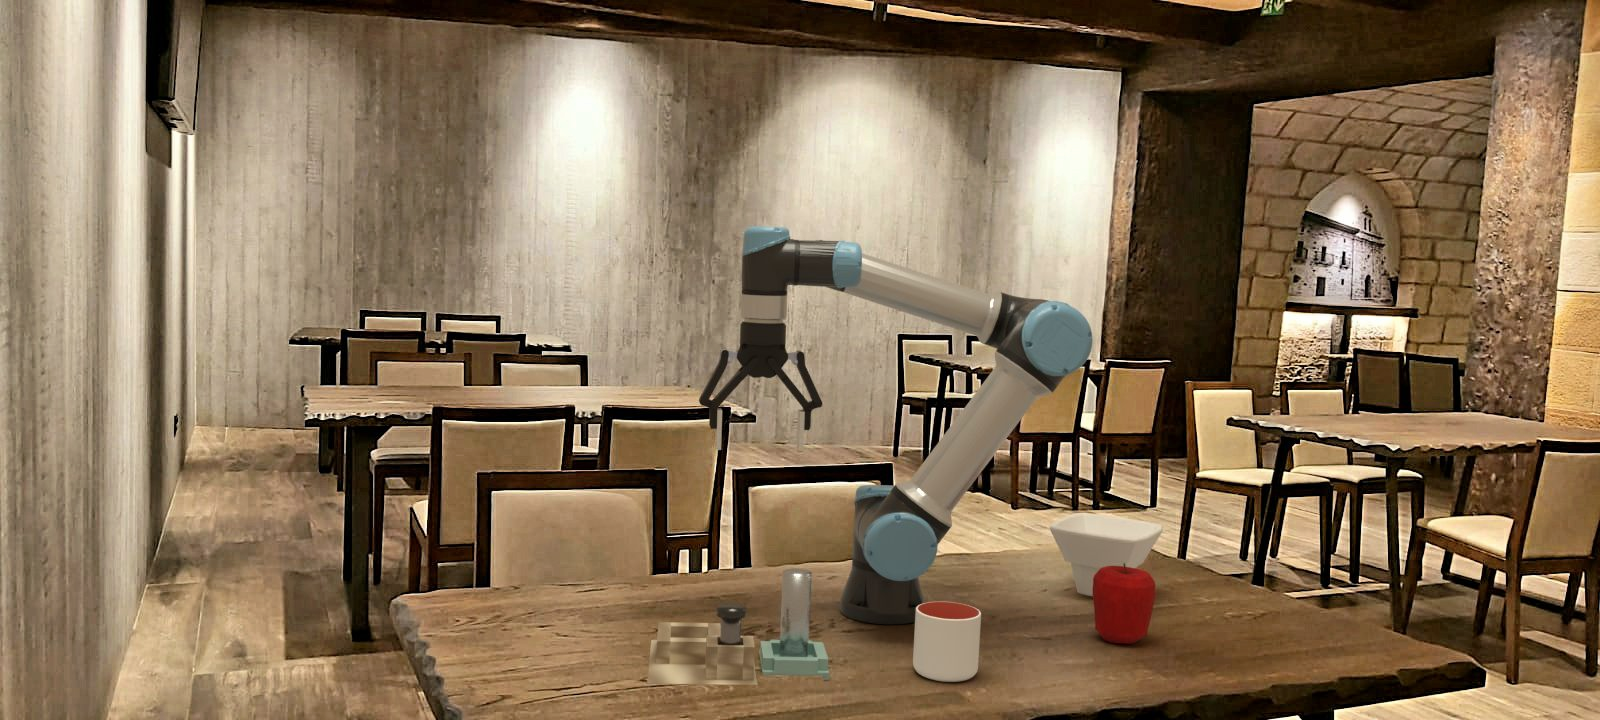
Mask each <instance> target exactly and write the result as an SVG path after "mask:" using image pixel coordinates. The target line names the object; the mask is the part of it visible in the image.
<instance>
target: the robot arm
mask: <svg viewBox="0 0 1600 720" xmlns="http://www.w3.org/2000/svg"><path fill="white" fill-rule="evenodd" d="M742 243H743V244H742V257H741V258H742V259H741V298H740V299H741V301H740V302H741V303H740V317H741V318H742V319H743V320H744V321H741V323H740V324H739V326H740V328H739V329H740V330H739V347H738V350H737V351H733V350H728V349H727V348H722V349H720V353H719V357H718V358H719V360H718V363H717V365H716V366H715V369H714V370H713V372H712V374H711V376H710V378H709V380H708V382H707V383H706V385H705V387H704V389H703V391H702V393H701V394H700V396H699V399H698V401H699V404H700V406H702V407H706V408H708V409H709V417H708V418H709V421H708V425H709V427H710V429H711V430H715V441H714V442H715V445H714V446H715V449H716V451H721V450H722V430H723V428H722V427H723V410H722V408H721V407H720V406H721V404H723V402H724V401H726V399H727V398H728V397H729V396H730V395H731V394H732V393H733V391H734V390H735V389H737V387H738V386H739V385H740V384H741V382H742V381H744V380H745V379H746V377H747V376H749V377H752V378H754V379H755V378H756V379H758V378H766V379H772V378H774V377H776V376H777V377H778V379H779V380H780V381H781V382H782V383H783V385H784V386H785V388H787V390H788V391H789V392H790V394H791V395H792V396H793V397H794V399H796V401H797V402H798V404H799V405H800V406H801V407H802V409H797V427H796V428H797V431H796V433H797V434H796V449H797V451H799V452H804V446H805V445H804V442H805V441H804V440H805V431H810V429H811V426H812V425H811V424H812V412H813V410H816V409H818V408H821V407H823V401H822V398H821V396H820V395H819V392H818V390H817V388H816V386H815V384H814V382H813V379H812V377H811V374H810V372H809V371H808V369H807V366H806V359H805V353H804V352H803V351H802V350H796V351H792V352H787V349H786V348H787V347H786V343H787V342H786V341H787V340H786V339H787V324H786V322H784V321H785V320H787V311H788V310H787V308H788V286H794V287H795V286H796V287H797V286H804V287H805V286H806V287H821V288H822V287H824V288H826V289H827V288H829V289H830V290H834V291H837V292H840V293H844V294H846V295H847V294H848V295H850V296H853V297H857V298H858V299H863V300H866V301H868V302H872V303H875V304H878V305H881V306H885V307H887V308H891V309H893V310H896V311H900V312H902V313H906V314H909V315H911V316H915V317H918V318H921V319H923V320H924V319H925V320H927V321H931V322H934V323H937V324H940V325H942V326H946V327H949V328H951V329H955V330H958V331H961V332H964V333H967V334H969V335H970V334H971V335H973V336H976V337H977V338H978V341H979V342H980V343H981V344H983V345H985V346H988V347H992V348H994V349H996V350H995V351H994V359H995V361H994V362H995V367H994V368H993V370H992V371H991V372H990V373H989V375H988V376H987V377H986V379H985V380H984V381H983V383H982V384H981V385H980V386H979V388H978V389H977V391H976V392H975V393H974V395H973V396H972V397H971V399H970V400H969V402H968V403H967V404H966V405H965V407H964V408H963V409H962V410H961V412H960V414H959V415H958V416H957V418H955V420H954V421H953V423H952V424H951V426H950V427H949V428H948V429H947V430H946V432H945V433H944V435H942V437H941V439H940V440H939V441H938V442H937V444H936V445H935V446H934V447H933V449H932V451H931V452H930V453H929V454H928V456H927V457H926V459H925V460H924V462H922V464H921V465H920V467H919V468H918V469H917V471H916V472H915V473H914V474H913V476H912V477H911V478H910V479H909V480H907V481H902V482H901V481H900V482H896V483H895V484H894V485H887V484H885V485H883V484H865V485H859V486H858V487H857V488H856V491H855V497H854V498H855V499H854V500H853V505H854V519H853V520H854V522H853V538H852V539H853V541H852V556H851V557H852V559H851V560H852V561H851V569H850V572H849V575H848V578H847V581H846V583H845V585H844V589H843V591H842V593H841V597H840V601H839V602H840V605H839V607H840V608H839V611H840V612H841V614H842V615H843V616H845V617H847V618H849V619H852V620H855V621H859V622H863V623H869V624H876V625H905V624H910V623H911V624H912V623H915V614H916V607H917V606H918V605H920V604H923V603H926V602H925V601H926V600H925V598H924V595H923V590H922V586H921V582H920V580H919V577H920V576H923V575H924V574H926V572H927V571H928V570H929V569H930V568H931V567H932V565H933V563H934V561H935V559H936V557H937V553H938V547H939V546H938V545H939V544H940V543H941V541H942V540H943V538H944V537H945V536H946V535H947V533H948V532H949V531H950V529H952V527H953V521H952V520H953V519H952V511H953V510H954V509H955V507H956V506H957V505H958V504H959V502H960V501H961V500H962V498H963V497H964V495H965V494H966V493H967V492H968V490H969V489H970V488H971V486H972V485H973V483H974V482H975V481H976V480H977V478H978V476H979V475H980V474H982V471H984V469H985V468H986V466H987V465H988V464H989V462H990V461H991V460H992V459H993V457H994V456H995V455H996V453H997V452H998V450H999V449H1000V448H1001V446H1002V445H1003V444H1004V443H1005V441H1006V440H1007V438H1008V437H1009V436H1010V434H1011V433H1012V432H1013V430H1014V429H1015V428H1016V427H1017V425H1019V422H1020V421H1021V420H1022V419H1023V418H1024V416H1025V415H1026V413H1027V412H1028V411H1029V409H1030V408H1031V407H1032V405H1033V404H1034V403H1035V402H1036V400H1037V399H1038V398H1040V397H1045V396H1051V395H1052V394H1053V393H1054V392H1055V390H1056V389H1057V388H1058V386H1059V385H1060V383H1062V382H1063V380H1064V379H1065V378H1066V376H1068V375H1071V374H1073V373H1074V372H1076V371H1078V370H1079V369H1081V368H1082V366H1084V364H1085V363H1086V362H1087V360H1088V359H1089V357H1090V355H1091V351H1092V348H1093V343H1094V340H1093V332H1092V328H1091V326H1090V323H1089V322H1088V320H1087V318H1086V317H1085V316H1084V314H1083V313H1082V312H1080V311H1079V310H1078V309H1077V308H1075V307H1073V306H1071V305H1069V304H1068V303H1067V302H1063V301H1059V300H1047V299H1041V298H1040V299H1039V298H1029V297H1020V296H1014V295H1011V294H1008V293H1004V292H1002V291H996V292H993V293H992V294H990V293H989V294H988V293H986V292H982V291H981V290H976V289H973V288H971V287H967V286H966V285H965V286H964V285H961V284H958V283H956V282H952V281H949V280H946V279H943V278H939V277H936V276H934V275H931V274H927V273H925V272H922V271H917V270H915V269H912V268H909V267H905V266H902V265H899V264H896V263H893V262H890V261H887V260H885V259H881V258H878V257H875V256H871V255H868V254H865V253H863V252H862V247H861V245H860V244H859V243H858V242H854V241H845V240H823V239H817V240H816V239H815V240H805V239H804V240H800V239H794V238H791V236H790V230H789V229H788V228H787V227H783V226H761V225H760V226H756V225H755V226H754V225H753V226H749V227H747V228H746V229H745V230H744V233H743V242H742ZM735 359H737V361H738V362H739V364H740V365H741V367H740V368H739V369H738V370H737V371H736V373H735V374H734V375H733V376H732V377H731V378H730V379H729V381H728V382H727V383H726V384H725V385H724V386H723V388H722V389H720V391H718V393H717V394H716V395H715V396H714V397H713V398H712V399H710V398H711V397H712V396H713V392H714V390H715V389H716V388H717V386H718V384H719V382H720V379H721V378H722V376H723V374H724V372H725V370H726V368H727V366H728V364H732V363H733V360H735ZM788 360H790V361H791V364H793V365H794V366H796V369H797V371H798V373H799V375H800V377H801V379H802V381H803V384H804V385H805V388H806V390H807V393H808V395H809V398H810V399H811V400H810V401H808V400H807V398H805V396H804V394H802V393H801V391H800V390H799V389H798V387H797V386H796V385H795V384H794V382H793V381H792V380H791V379H790V377H789V375H788V374H787V373H786V372H785V371H784V369H783V367H784V366H785V364H786V363H787V362H788ZM719 407H720V408H719Z"/></svg>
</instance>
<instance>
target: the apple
mask: <svg viewBox="0 0 1600 720" xmlns="http://www.w3.org/2000/svg"><path fill="white" fill-rule="evenodd" d="M1123 565H1124V566H1106V567H1102V568H1100V569H1099V570H1098V572H1097V573H1096V574H1095V575H1094V577H1093V589H1092V592H1093V596H1092V601H1093V613H1094V627H1095V628H1094V629H1095V631H1096V632H1098V634H1099V635H1100V637H1102V638H1103V639H1104V640H1105V641H1106V642H1109V643H1114V644H1115V643H1116V644H1135V643H1137V642H1138V641H1140V640H1141V639H1143V638H1144V637H1145V636H1147V635H1148V631H1149V627H1150V623H1151V618H1152V614H1153V609H1154V605H1155V601H1156V600H1155V599H1156V581H1155V580H1154V578H1153V577H1152V575H1151V574H1150V573H1149V572H1148V571H1147V570H1143V569H1140V568H1137V567H1136V568H1130V567H1125V563H1124V564H1123Z"/></svg>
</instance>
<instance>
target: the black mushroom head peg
mask: <svg viewBox="0 0 1600 720" xmlns="http://www.w3.org/2000/svg"><path fill="white" fill-rule="evenodd" d="M716 616H717V617H718V618H720V625H721V634H720V645H740V639H741V636H742V635H741V634H742V633H741V632H742V619H744V618H746V617H747V605H744V604H742V603H737V602H736V603H735V602H725V603H719V604H717V605H716Z"/></svg>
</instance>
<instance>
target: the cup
mask: <svg viewBox="0 0 1600 720" xmlns="http://www.w3.org/2000/svg"><path fill="white" fill-rule="evenodd" d="M981 621H982V612H981V610H980V609H978V608H976V607H974V606H971V605H968V604H965V603H961V602H955V601H953V602H952V601H928V602H925V603H923V604H920V605H918V606H917V607H916V614H915V622H914V635H913V636H914V637H913V638H914V639H913V654H912V656H913V657H912V665H913V668H914V670H915V672H916V673H918V675H920V676H922V677H924V678H927V679H930V680H932V681H938V682H944V683H957V682H959V683H960V682H963V681H967V680H970V679H972V678H973V677H975V676H976V674H977V672H978V669H979V658H980V657H979V655H980V654H979V653H980V639H981V626H982V625H981V623H982V622H981Z"/></svg>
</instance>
